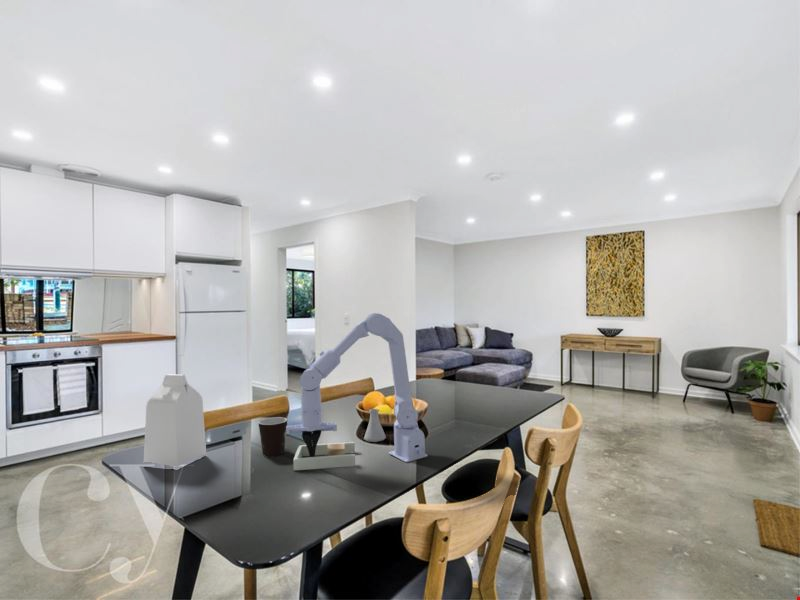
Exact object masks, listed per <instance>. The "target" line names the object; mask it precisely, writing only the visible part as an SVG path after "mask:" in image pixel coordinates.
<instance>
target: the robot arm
mask: <svg viewBox="0 0 800 600" xmlns="http://www.w3.org/2000/svg"><path fill="white" fill-rule="evenodd" d="M369 333H370V334H371V335H373V336H377V337H380V338H382V339H383V340H384V341H386V342H387V343H388V349H389V357H390V365H391V373H392V379H393V380H392V381H393V389H394V401H395V402H394V405H393V406H394V407H393V414H394V416H395V417H396V420H394V423H393V443H394V450H391V451H388V453H389V455H391V456H393V457H395V458H397V459H399V460H400V461H403V463H410V462H412V461H416V460H419V459H423V458H427V457H428V454H427V453H426V444H425V443H426V441H425V440H426V439H425V434H424V432H423V431H422V430H421V429H420V428H419V425H418V420H419V414H418V411H417V410H416V408H415V406H414V401H413V397H412V393H411V387H410V386H411V385H410V379H409V372H408V370H409V369H408V363H407V357H406V356H407V355H406V348H405V340H404V335H403V333H402V332H401V330H400V329H399V328H398V327H397V326H396V324H395V323H393V321H392V320H391V318H389V317H387V316H385V315H383V314H382V313H379V312H377V313H375V312H374V313H371V314H368V316H367V317H366V319H363V320H362V321H360V322H359V323H357V324H356V325H354V327H353V328H352V329H351V330H350V331H349V332H348V333H347V334H346V335H345V336H344V337H343V338H342V340H341V341H340V342H338V344H336V346H334V348H333V349H325V350H324V351H323V350H321V351H320V353H319V357H318V358H317V359H315V361H313V363H309V364H308V366H307V367H308V368H307V369H305V370H304V371H303V372H302V374H301V375H300V377H299V378H300V379H299V384H300V386H301V390H300V392H301V398H300V400H301V401H300V403H301V405H300V406H301V407H300V408H301V409H300V411H301V423H299V424H293V425H291V424H290V425H287V427H286V435H290V434H299V433H300V434H302V435H301V438H302V440H303V441H304V443H305V444H304V445H306V446H307V448H308V452H309V456H308V457H316V455H315V451H316V446H317V444H319V440H320V438H321V434H322V432H330V431H333V432H337V431H338V423H337V422H322V418H323V417H322V394H321V382H322V379H326V378H327V377H328V376H329V375H330V374H331V373H332V372H333V371H334V370H335V369H336V368H337V367H338V366H339V365H340V364H341V356H343V355H344V354H345V353H346V352H347V351H348V350H349V349H350V348H351V347H352V346H353V345H354V344H355V343H357V341H358V340H360V339H362V338H368V337H369V336H370V335H369Z"/></svg>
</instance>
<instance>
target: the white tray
mask: <svg viewBox="0 0 800 600" xmlns="http://www.w3.org/2000/svg"><path fill="white" fill-rule="evenodd" d="M343 443H344V445H345V455H335V456H327V446H328V445H329V444H343ZM355 448H356V447H355V441H348V442H347V441H346V442H333V443H331V442H330V443H317V446H316V451H315V457H310V456H309V452H308V448H307V446H306V444H302V445H301V444H300V445H298V447H297V450H295V451H296V452H295V454H294V457H293V460H292V462H293V471H304V470H305V471H306V470H319V469H321V470H322V469H332V468H344V467H346V468H348V467H356V454H355V453H356V450H355Z"/></svg>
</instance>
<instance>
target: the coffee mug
mask: <svg viewBox="0 0 800 600" xmlns="http://www.w3.org/2000/svg"><path fill="white" fill-rule="evenodd" d="M287 426H288V418H287V417H283V416H282V417H281V416H276V417H267V418H264V419H261V420H259V421H258V429H259V436H260V443H261V444H260V445H261V450H262V456H263V455H265V456H264V457H266V456H273V457H278V456H281V455H282V454H283V455H284V453H285V447H286V445H285V444H286V436H287V434H286V427H287Z"/></svg>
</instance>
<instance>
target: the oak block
mask: <svg viewBox="0 0 800 600" xmlns="http://www.w3.org/2000/svg"><path fill="white" fill-rule="evenodd" d="M342 443H343V444H329V443H328V444H329V445H328V446H327V455H326V456H335V455H346V453H345V445H344V442H342Z"/></svg>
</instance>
